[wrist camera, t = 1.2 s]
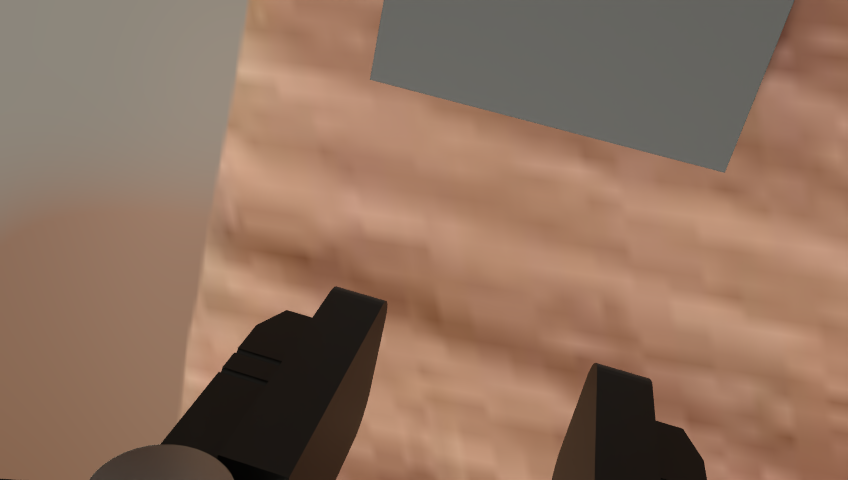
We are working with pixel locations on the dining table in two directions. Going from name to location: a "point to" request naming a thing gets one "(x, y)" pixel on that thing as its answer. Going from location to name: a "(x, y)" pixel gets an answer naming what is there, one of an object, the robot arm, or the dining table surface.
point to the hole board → (592, 65)
